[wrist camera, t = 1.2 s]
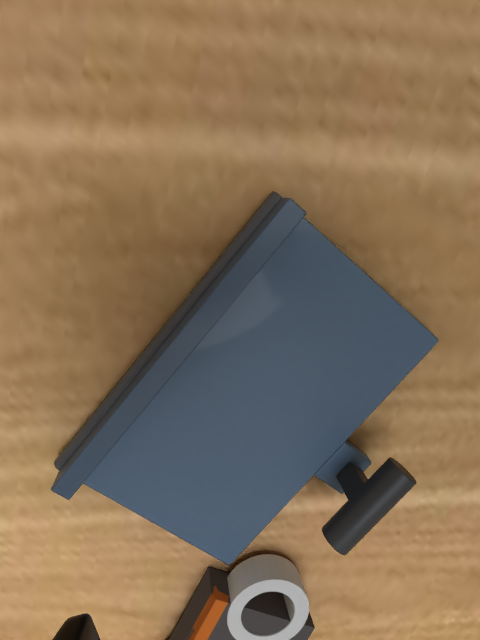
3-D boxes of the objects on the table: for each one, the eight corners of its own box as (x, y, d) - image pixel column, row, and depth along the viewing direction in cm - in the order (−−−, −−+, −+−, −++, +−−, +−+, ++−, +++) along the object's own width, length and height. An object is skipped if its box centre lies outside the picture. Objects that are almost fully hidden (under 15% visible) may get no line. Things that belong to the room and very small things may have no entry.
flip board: (458, 360, 23) (515, 394, 19) (257, 572, 26) (271, 641, 22) (271, 190, 20) (294, 190, 16) (56, 457, 22) (28, 515, 18)
